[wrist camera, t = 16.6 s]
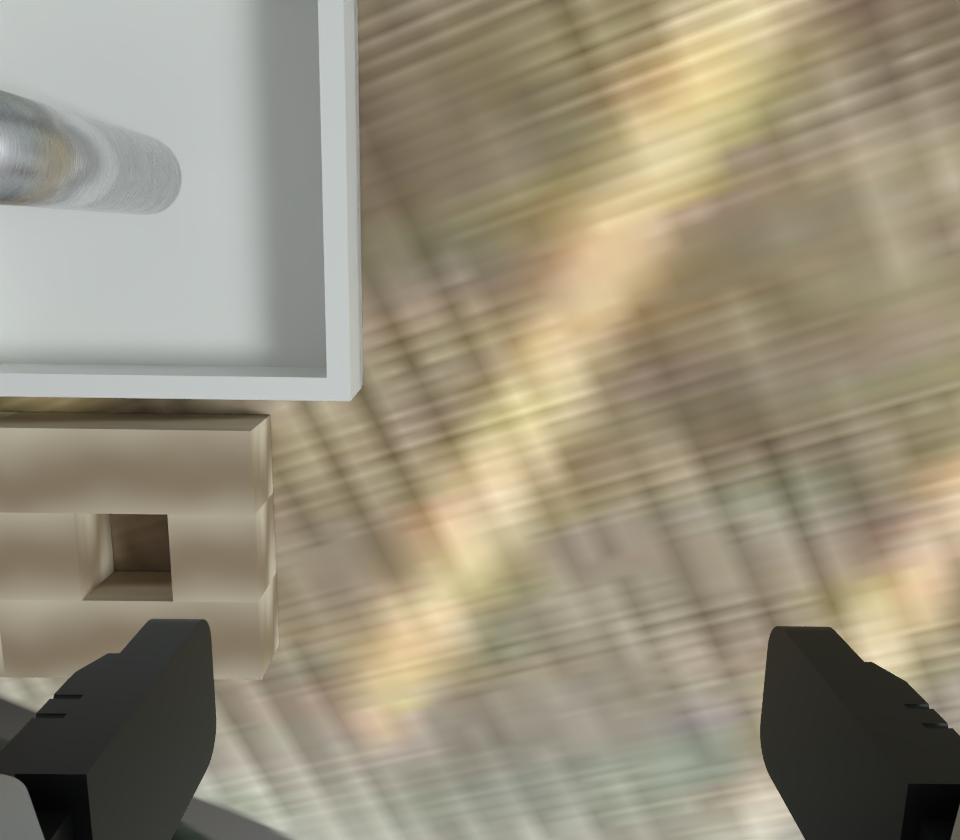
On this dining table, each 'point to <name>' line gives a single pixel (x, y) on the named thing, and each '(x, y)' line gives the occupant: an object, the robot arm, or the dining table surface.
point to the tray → (193, 204)
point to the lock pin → (80, 162)
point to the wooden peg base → (134, 490)
